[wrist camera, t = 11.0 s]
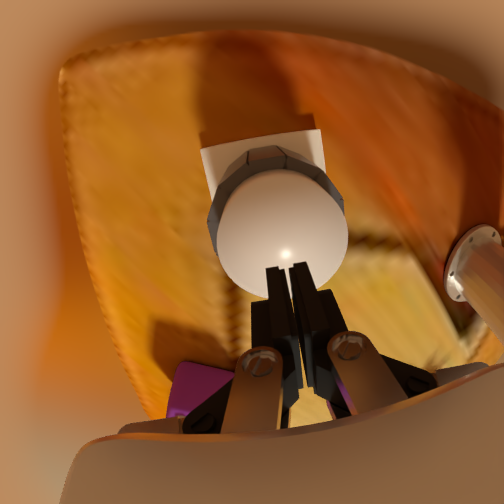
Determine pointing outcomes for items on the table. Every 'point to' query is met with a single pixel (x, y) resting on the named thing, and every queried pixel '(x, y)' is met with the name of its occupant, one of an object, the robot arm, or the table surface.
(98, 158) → the table surface
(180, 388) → the toy camera
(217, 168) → the lens barrel
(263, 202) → the glossy white sphere
